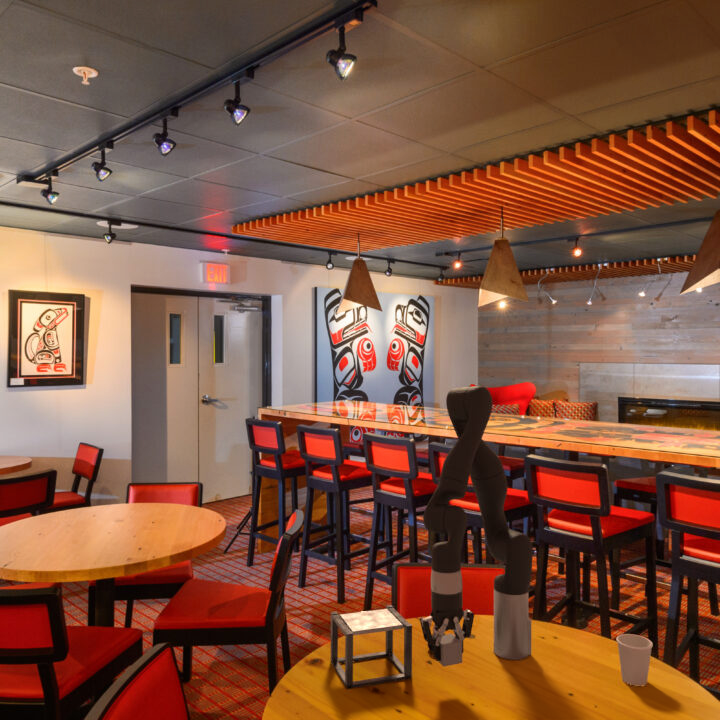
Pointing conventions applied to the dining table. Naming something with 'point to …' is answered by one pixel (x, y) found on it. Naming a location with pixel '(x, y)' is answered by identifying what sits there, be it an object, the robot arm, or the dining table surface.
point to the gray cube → (450, 650)
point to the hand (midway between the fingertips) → (448, 656)
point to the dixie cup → (634, 658)
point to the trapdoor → (371, 621)
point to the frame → (349, 658)
